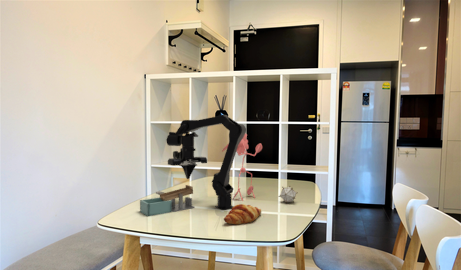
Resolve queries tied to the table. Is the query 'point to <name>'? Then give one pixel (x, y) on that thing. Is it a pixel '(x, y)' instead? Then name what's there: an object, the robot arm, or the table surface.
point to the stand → (182, 204)
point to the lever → (175, 193)
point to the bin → (155, 206)
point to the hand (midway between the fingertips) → (187, 178)
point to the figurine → (242, 149)
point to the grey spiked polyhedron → (288, 194)
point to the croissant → (242, 214)
